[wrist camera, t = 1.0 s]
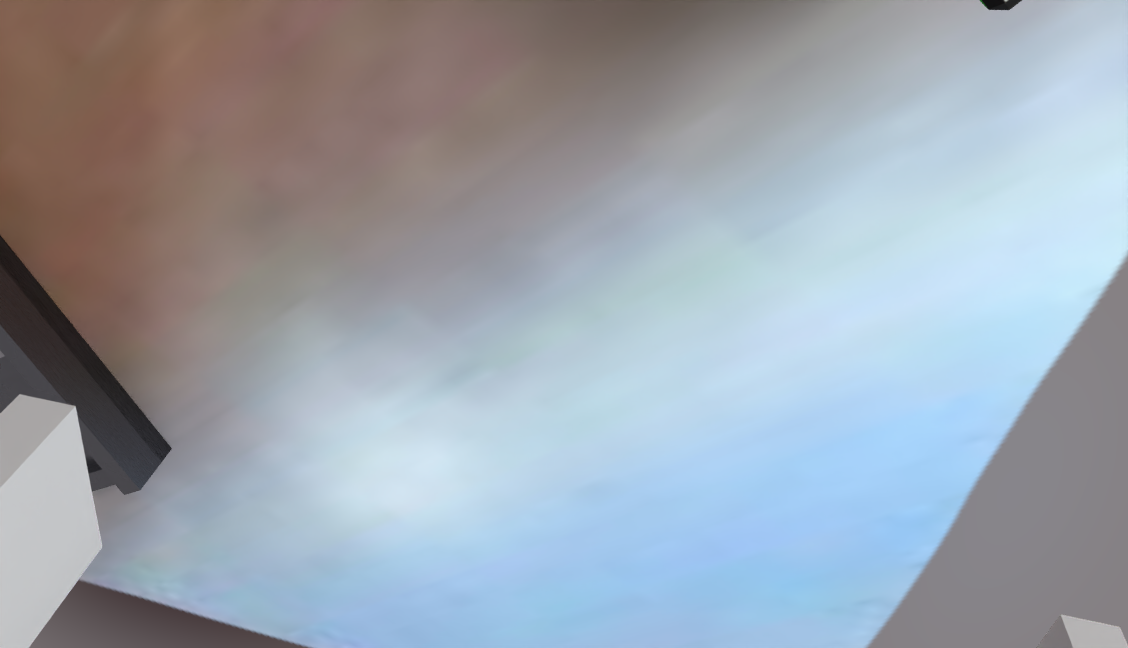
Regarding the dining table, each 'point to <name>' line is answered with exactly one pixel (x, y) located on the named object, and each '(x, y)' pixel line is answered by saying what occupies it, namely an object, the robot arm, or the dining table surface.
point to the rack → (71, 381)
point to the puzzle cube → (1000, 4)
